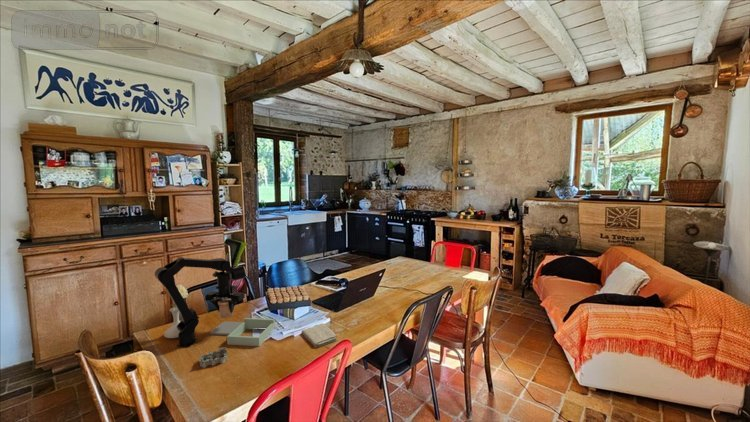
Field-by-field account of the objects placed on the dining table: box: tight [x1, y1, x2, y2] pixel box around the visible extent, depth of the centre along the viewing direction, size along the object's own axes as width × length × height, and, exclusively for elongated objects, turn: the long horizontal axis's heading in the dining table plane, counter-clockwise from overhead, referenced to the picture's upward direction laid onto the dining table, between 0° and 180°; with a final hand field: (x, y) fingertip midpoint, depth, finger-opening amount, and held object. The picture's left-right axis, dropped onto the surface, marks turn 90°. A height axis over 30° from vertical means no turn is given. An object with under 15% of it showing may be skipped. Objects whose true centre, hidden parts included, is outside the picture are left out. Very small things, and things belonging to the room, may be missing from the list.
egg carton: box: [198, 346, 229, 369], centre depth 135 cm, size 11×8×4 cm
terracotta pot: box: [218, 298, 234, 319], centre depth 162 cm, size 7×7×8 cm
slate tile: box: [209, 321, 244, 336], centre depth 163 cm, size 12×12×1 cm
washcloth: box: [301, 323, 338, 349], centre depth 153 cm, size 12×18×3 cm, turn 36°
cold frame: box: [226, 317, 276, 347], centre depth 155 cm, size 16×16×6 cm
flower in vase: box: [163, 284, 189, 339], centre depth 158 cm, size 13×11×25 cm
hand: (226, 312), depth 162 cm, fingers closed on terracotta pot, 6 cm apart
